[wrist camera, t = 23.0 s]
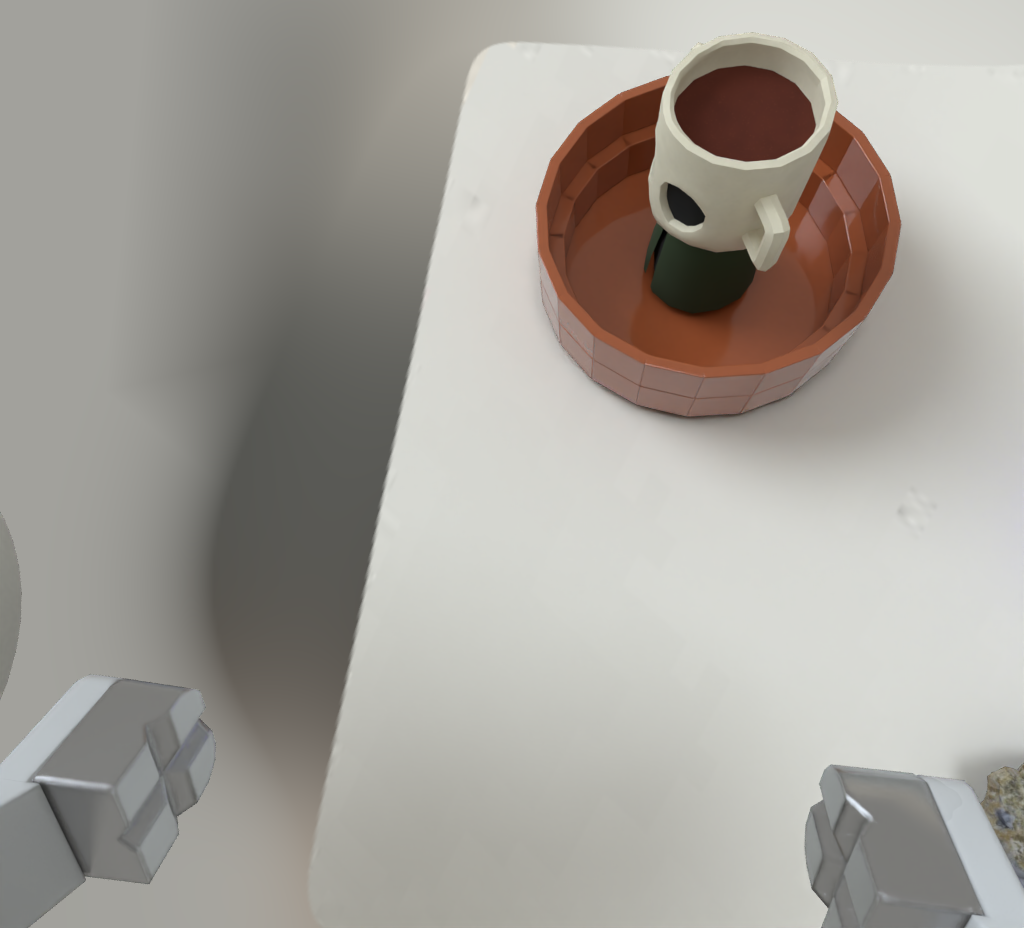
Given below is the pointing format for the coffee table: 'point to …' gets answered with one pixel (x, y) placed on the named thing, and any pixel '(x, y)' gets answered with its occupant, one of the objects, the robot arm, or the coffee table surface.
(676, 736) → the coffee table surface
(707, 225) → the character mug
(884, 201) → the bowl
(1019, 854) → the rock
